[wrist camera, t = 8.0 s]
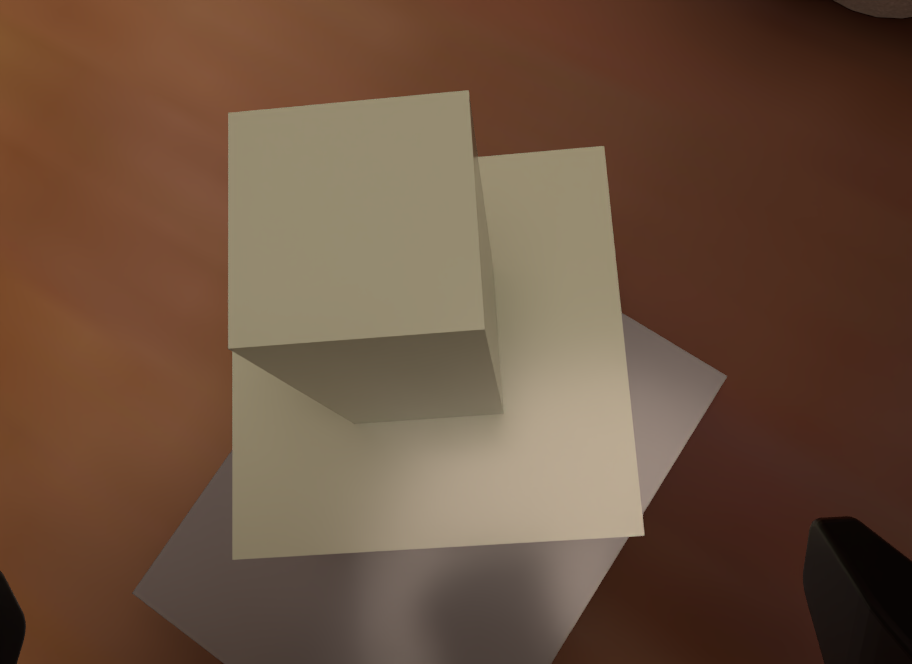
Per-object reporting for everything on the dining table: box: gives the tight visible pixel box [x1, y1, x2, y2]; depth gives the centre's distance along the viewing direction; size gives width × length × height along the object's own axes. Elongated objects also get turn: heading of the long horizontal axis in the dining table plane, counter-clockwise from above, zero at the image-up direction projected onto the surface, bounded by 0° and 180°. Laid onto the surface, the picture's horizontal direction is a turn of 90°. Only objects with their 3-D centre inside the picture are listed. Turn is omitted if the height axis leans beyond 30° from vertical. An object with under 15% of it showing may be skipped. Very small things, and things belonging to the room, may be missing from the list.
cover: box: [228, 90, 645, 560], centre depth 15 cm, size 6×6×13 cm
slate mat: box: [133, 313, 727, 664], centre depth 21 cm, size 12×9×1 cm
